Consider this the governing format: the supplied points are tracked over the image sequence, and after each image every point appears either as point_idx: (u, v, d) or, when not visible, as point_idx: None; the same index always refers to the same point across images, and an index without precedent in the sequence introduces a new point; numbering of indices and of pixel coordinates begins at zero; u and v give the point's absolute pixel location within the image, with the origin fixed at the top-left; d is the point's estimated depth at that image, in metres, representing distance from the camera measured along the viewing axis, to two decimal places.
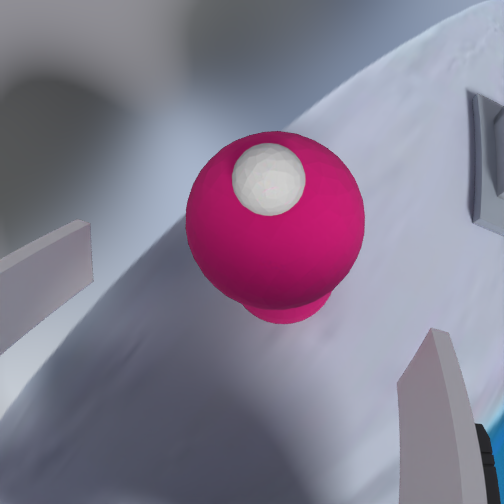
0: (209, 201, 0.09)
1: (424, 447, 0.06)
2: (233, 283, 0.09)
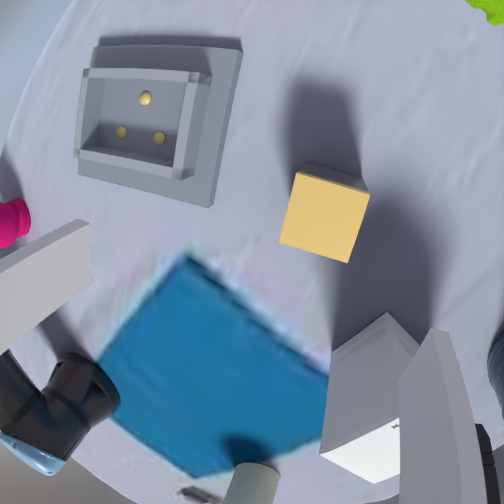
0: None
1: (424, 447, 0.06)
2: None
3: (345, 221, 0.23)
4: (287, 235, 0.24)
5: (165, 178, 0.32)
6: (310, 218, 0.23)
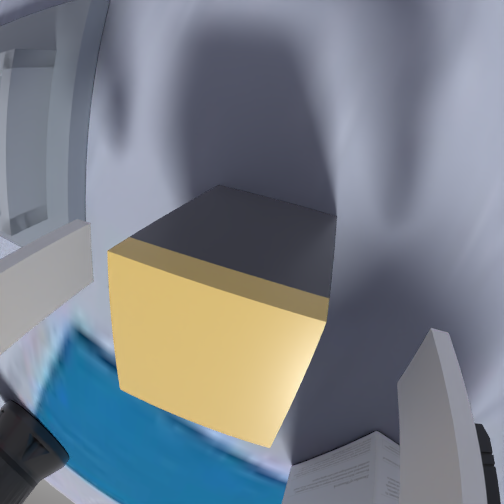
0: None
1: (424, 447, 0.06)
2: None
3: (253, 380, 0.08)
4: (130, 382, 0.10)
5: None
6: (164, 361, 0.09)
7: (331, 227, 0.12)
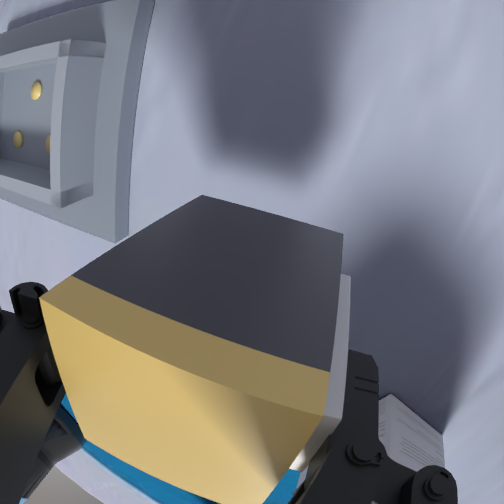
0: None
1: None
2: None
3: (228, 460, 0.06)
4: (93, 434, 0.07)
5: None
6: (122, 425, 0.06)
7: (336, 251, 0.10)
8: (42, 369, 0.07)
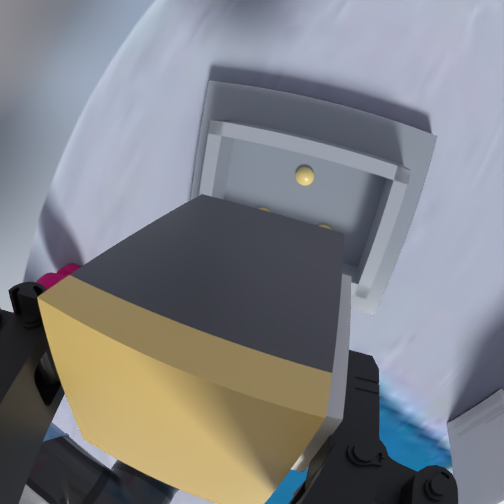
0: None
1: None
2: None
3: (229, 462, 0.05)
4: (92, 436, 0.07)
5: None
6: (122, 426, 0.06)
7: (337, 250, 0.10)
8: (41, 369, 0.07)
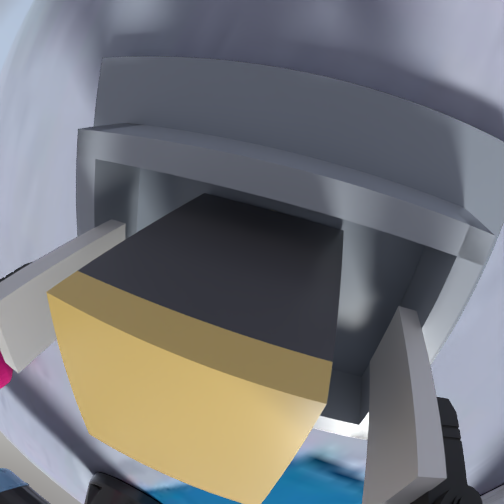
0: None
1: (388, 418, 0.07)
2: None
3: (233, 452, 0.06)
4: (97, 430, 0.07)
5: None
6: (128, 419, 0.06)
7: (337, 246, 0.10)
8: None
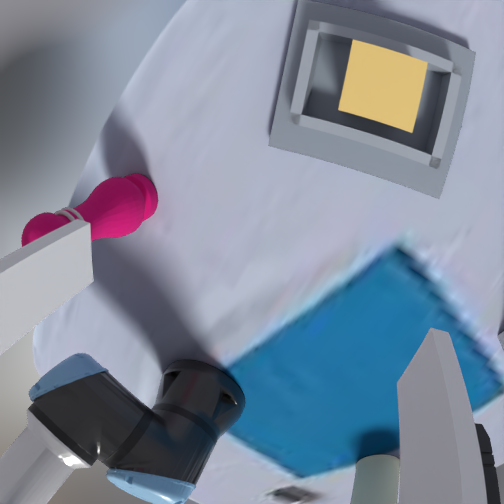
0: None
1: (424, 447, 0.06)
2: None
3: (406, 87, 0.18)
4: (347, 101, 0.20)
5: (398, 163, 0.28)
6: (370, 83, 0.19)
7: None
8: None
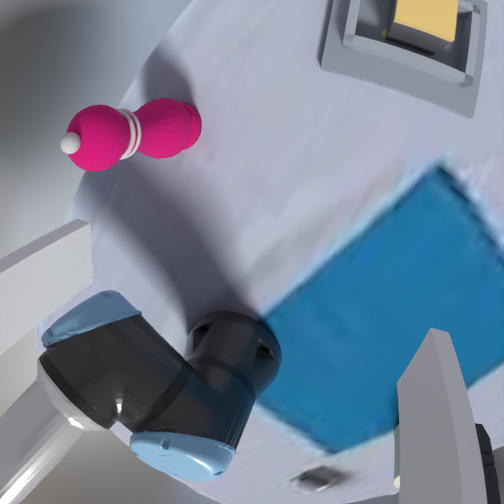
0: None
1: (424, 448, 0.06)
2: None
3: (445, 7, 0.17)
4: (401, 13, 0.19)
5: (435, 85, 0.27)
6: (418, 2, 0.18)
7: None
8: None
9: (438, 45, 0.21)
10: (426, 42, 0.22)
